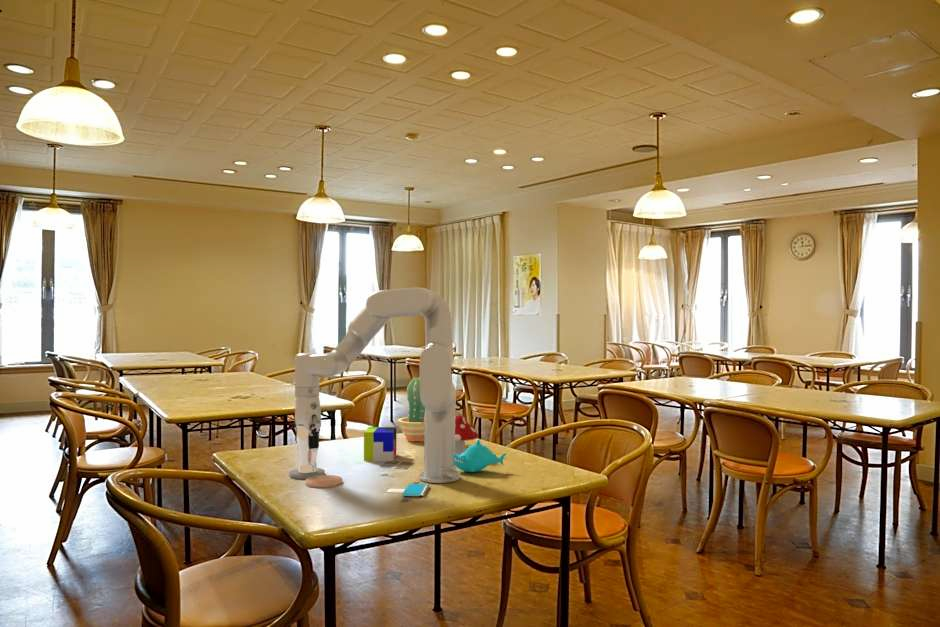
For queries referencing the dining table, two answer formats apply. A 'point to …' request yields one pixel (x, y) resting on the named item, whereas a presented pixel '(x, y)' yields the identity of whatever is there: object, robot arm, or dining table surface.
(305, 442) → the beer glass
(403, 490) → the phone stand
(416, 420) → the potted cactus
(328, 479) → the terracotta coaster
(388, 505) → the dining table surface
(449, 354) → the robot arm
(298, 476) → the slate coaster
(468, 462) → the toy shark
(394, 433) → the puzzle toy
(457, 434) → the decorative mushroom
